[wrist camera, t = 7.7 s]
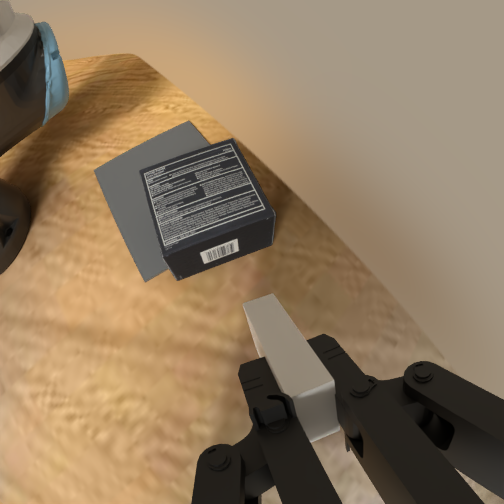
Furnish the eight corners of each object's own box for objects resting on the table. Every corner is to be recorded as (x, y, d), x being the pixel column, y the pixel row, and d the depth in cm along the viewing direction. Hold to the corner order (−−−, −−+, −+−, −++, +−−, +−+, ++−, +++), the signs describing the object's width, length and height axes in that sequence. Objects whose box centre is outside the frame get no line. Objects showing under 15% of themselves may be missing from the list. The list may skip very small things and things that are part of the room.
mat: (94, 171, 39) (93, 170, 39) (189, 122, 42) (188, 120, 42) (145, 282, 32) (144, 281, 32) (266, 212, 35) (266, 210, 35)
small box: (274, 247, 33) (238, 173, 37) (278, 214, 27) (235, 134, 31) (176, 283, 32) (152, 202, 36) (159, 257, 26) (136, 167, 30)
